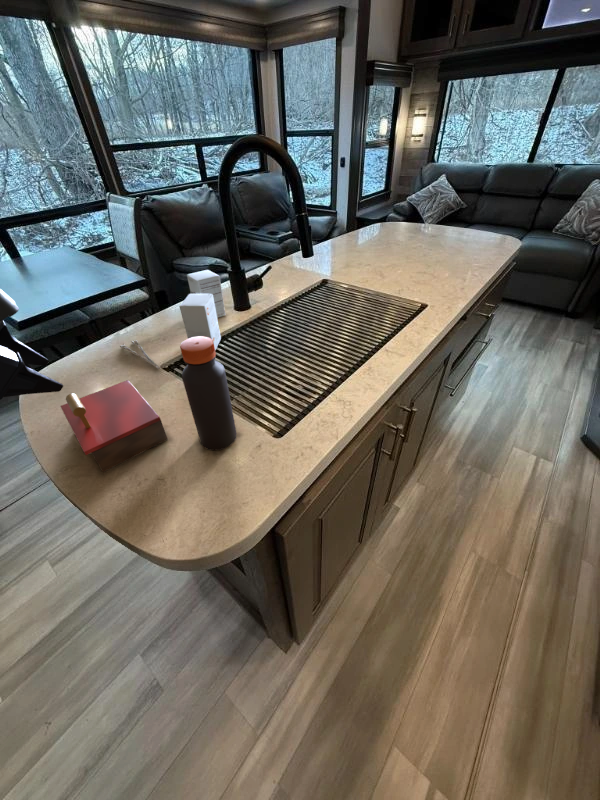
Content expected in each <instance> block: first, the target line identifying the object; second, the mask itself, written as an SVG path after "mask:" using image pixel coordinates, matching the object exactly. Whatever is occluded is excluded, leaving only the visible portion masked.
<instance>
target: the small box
mask: <svg viewBox="0 0 600 800" xmlns="http://www.w3.org/2000/svg"><path fill="white" fill-rule="evenodd" d="M179 311H180V315H181V318H182V322H183V325H184V329H185V333H186V337H187V339H189V338H191V337H196V336H205V337H209V338H210V339H212V340H213V342H214V347H215V351H216V350H217V348H218V346H219V344H220V342H221V339H222V337H221V331H220V326H219V321H218V318H217V314H216V309H215V304H214V298H213V294H191V293H188V294H187V296H186V297H185V298H184V300H183V301H182V302H181V303H180V304H179Z"/></svg>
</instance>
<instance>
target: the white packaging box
mask: <svg viewBox="0 0 600 800" xmlns="http://www.w3.org/2000/svg"><path fill="white" fill-rule="evenodd" d="M186 278H187V282H188V287H189V291H190V294H213V298H214V304H215V309H216V314H217V319H218V318H221V317H224V316H226V315H227V314H226V309H225V308H226V307H225V301H224V296H223V290H222V289H223V288H222V283H221V277H220V275H219V274H217V273H215V272H213V271H211V270H210V269H205V270H201V271H196V272H192V273H188V274H186Z"/></svg>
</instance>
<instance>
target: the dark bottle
mask: <svg viewBox="0 0 600 800" xmlns="http://www.w3.org/2000/svg"><path fill="white" fill-rule="evenodd" d="M179 347H180V353H181V355H182V359H183V361H184V364H185V365H186V366H185V367H184V368H183V370H182V372H181V380H182V383H183V386H184V390H185V393H186V396H187V399H188V400H187V401H188V404H189V408H190V411H191V414H192V418H193V422H194V426H195V428H196V432H197V435H198V439H199V442H200V445H201V446H202V447H203V448H204V449H207V450H209V451H221V450H224V449H226V448H228V447H230V446H232V445H233V444H234V443H235V441H236V439H237V428H236V421H235V417H234V411H233V406H232V400H231V395H230V390H229V384H228V379H227V373H226V370H225V367H224V365H223V364H222V363H221V362H220V361H218V360H217V359H216V358H217V356H216V354H217V353H216V350H215V347H214V342H213V340H212V339H210V338H209V337H205V336H196V337H191V338H189V339H188V338H186V339H185V340H183V341H182V342H181V343H180V344H179Z"/></svg>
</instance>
